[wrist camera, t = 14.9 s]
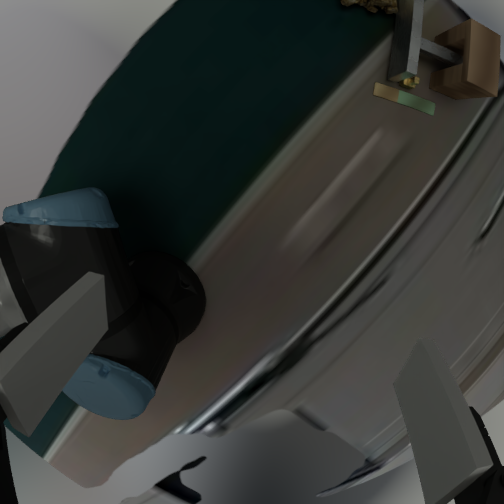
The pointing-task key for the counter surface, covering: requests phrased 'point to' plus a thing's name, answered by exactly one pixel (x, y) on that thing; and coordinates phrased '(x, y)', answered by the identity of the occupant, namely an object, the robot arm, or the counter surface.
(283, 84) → the counter surface
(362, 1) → the mushroom
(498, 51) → the base
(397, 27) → the plate
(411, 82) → the telltale
